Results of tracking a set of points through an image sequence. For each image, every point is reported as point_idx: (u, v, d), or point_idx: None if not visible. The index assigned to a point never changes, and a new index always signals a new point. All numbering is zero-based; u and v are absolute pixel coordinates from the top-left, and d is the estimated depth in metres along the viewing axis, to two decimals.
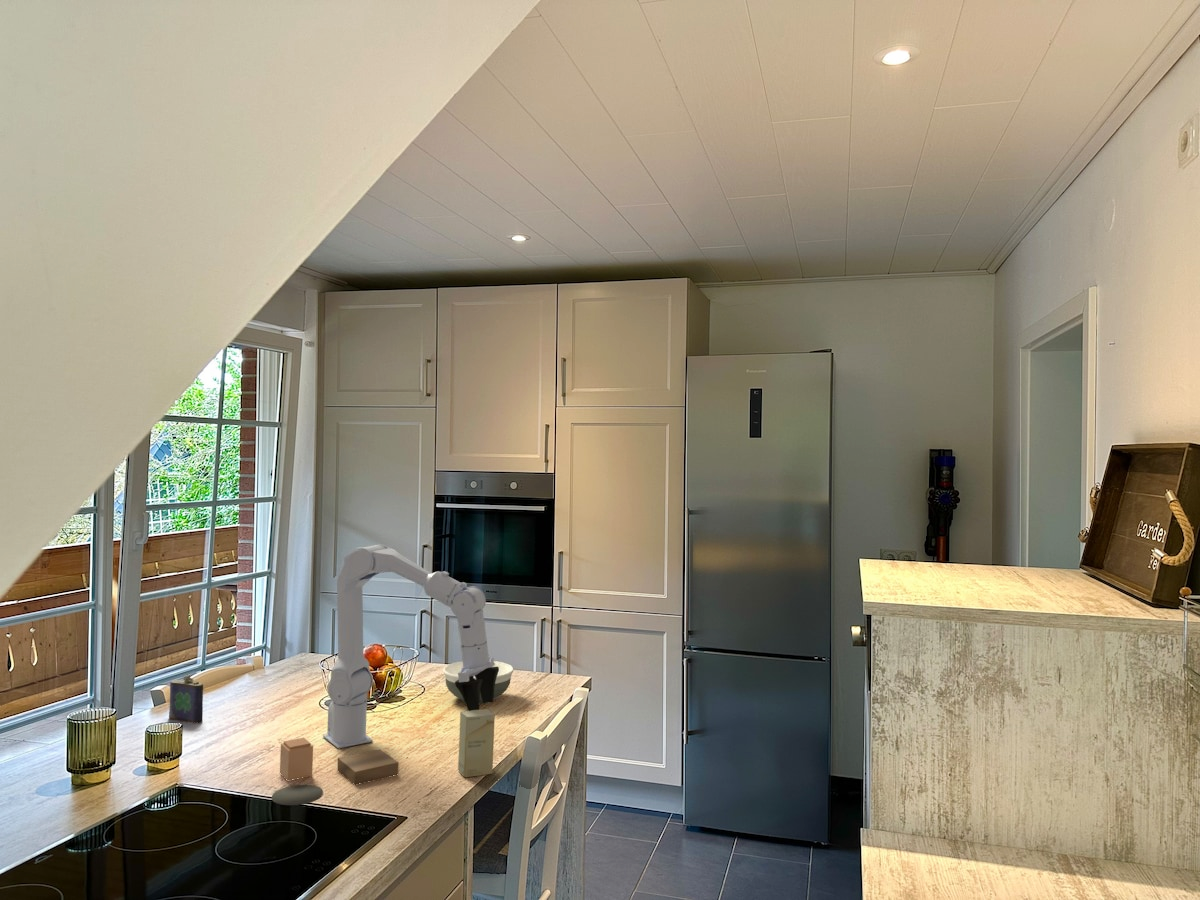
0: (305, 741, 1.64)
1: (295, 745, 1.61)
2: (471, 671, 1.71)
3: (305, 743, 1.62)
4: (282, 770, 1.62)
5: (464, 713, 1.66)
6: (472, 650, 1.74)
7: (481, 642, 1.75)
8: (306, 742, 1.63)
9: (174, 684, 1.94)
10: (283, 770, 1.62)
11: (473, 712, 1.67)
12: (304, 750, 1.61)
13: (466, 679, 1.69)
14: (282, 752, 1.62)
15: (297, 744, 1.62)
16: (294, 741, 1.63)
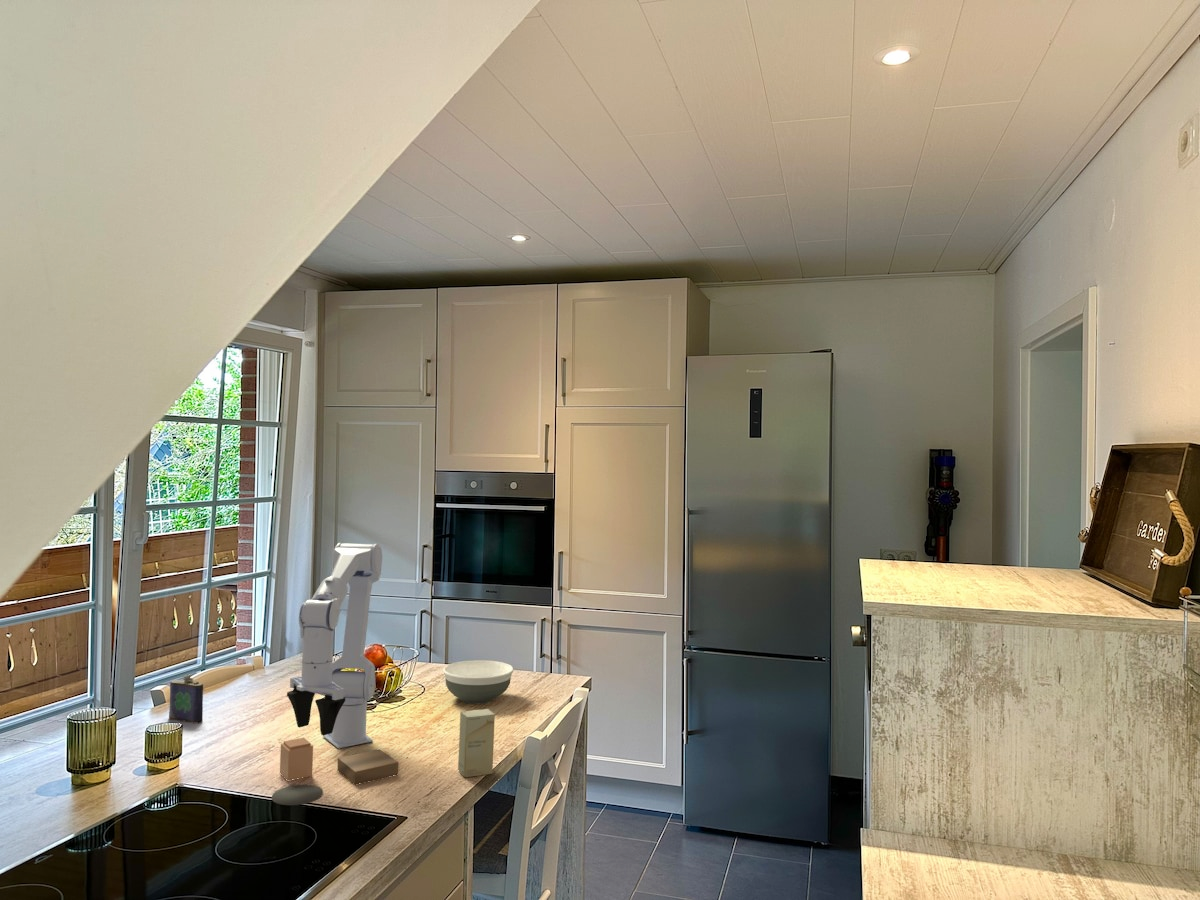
0: (305, 741, 1.64)
1: (295, 745, 1.61)
2: (294, 680, 1.64)
3: (305, 743, 1.62)
4: (282, 770, 1.62)
5: (464, 713, 1.66)
6: None
7: (305, 660, 1.59)
8: (306, 742, 1.63)
9: (174, 684, 1.94)
10: (283, 770, 1.62)
11: (473, 712, 1.67)
12: (304, 750, 1.61)
13: None
14: (282, 752, 1.62)
15: (297, 744, 1.62)
16: (294, 741, 1.63)
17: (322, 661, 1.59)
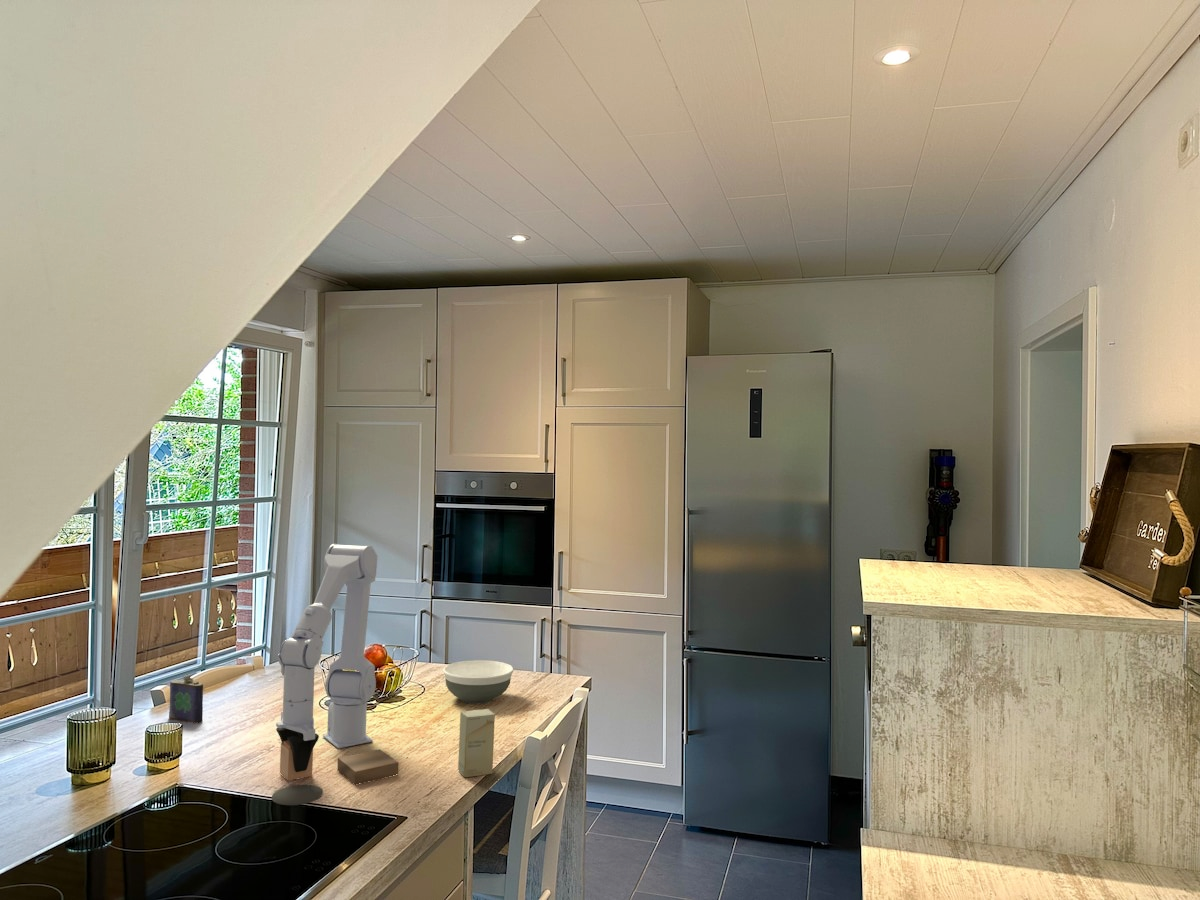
0: None
1: None
2: (282, 715, 1.67)
3: None
4: (282, 770, 1.62)
5: (464, 713, 1.66)
6: None
7: (284, 698, 1.61)
8: None
9: (174, 684, 1.94)
10: (283, 770, 1.62)
11: (473, 712, 1.67)
12: None
13: None
14: (282, 752, 1.62)
15: None
16: None
17: (300, 700, 1.61)
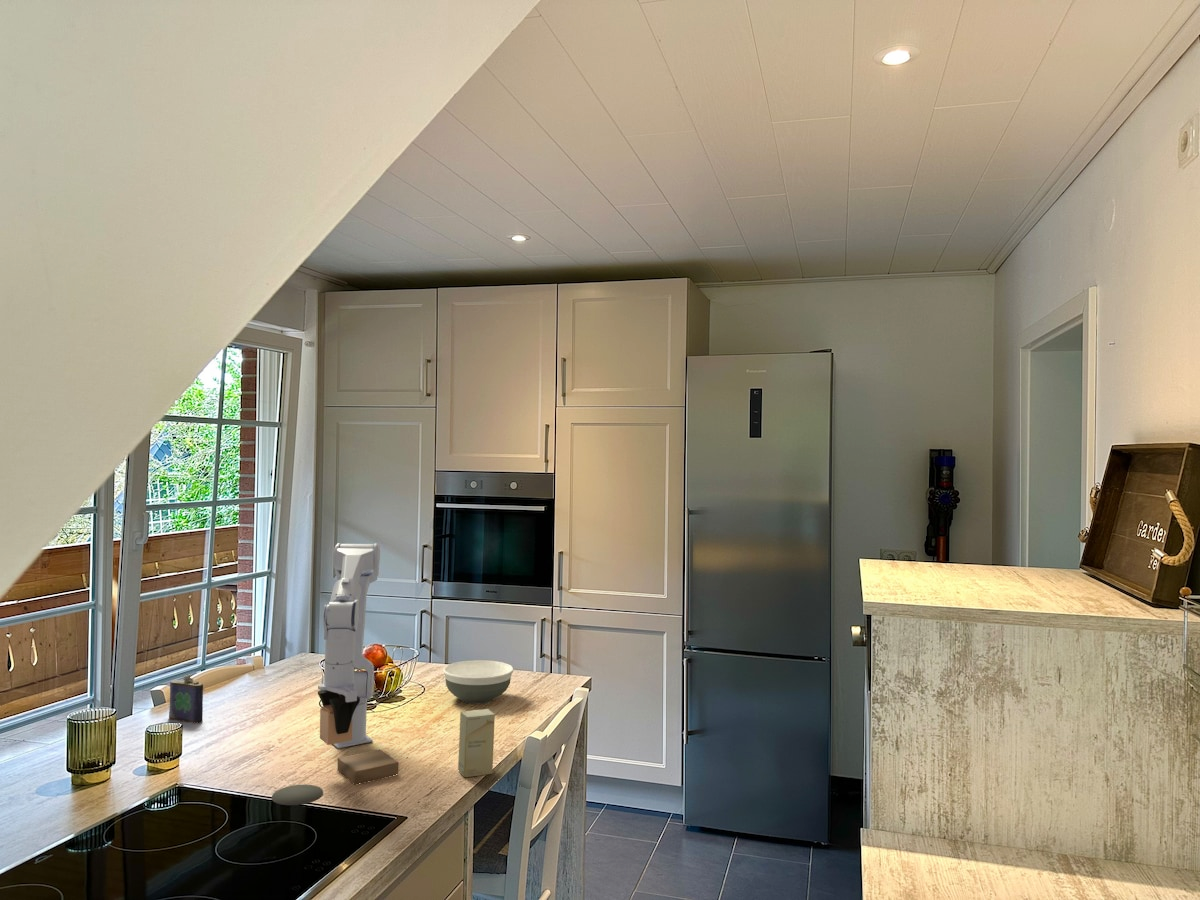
0: None
1: None
2: (323, 679, 1.68)
3: None
4: (322, 735, 1.63)
5: (464, 713, 1.66)
6: None
7: (330, 662, 1.62)
8: None
9: (174, 684, 1.94)
10: (323, 734, 1.63)
11: (473, 712, 1.67)
12: None
13: None
14: (322, 716, 1.63)
15: None
16: None
17: (347, 661, 1.62)
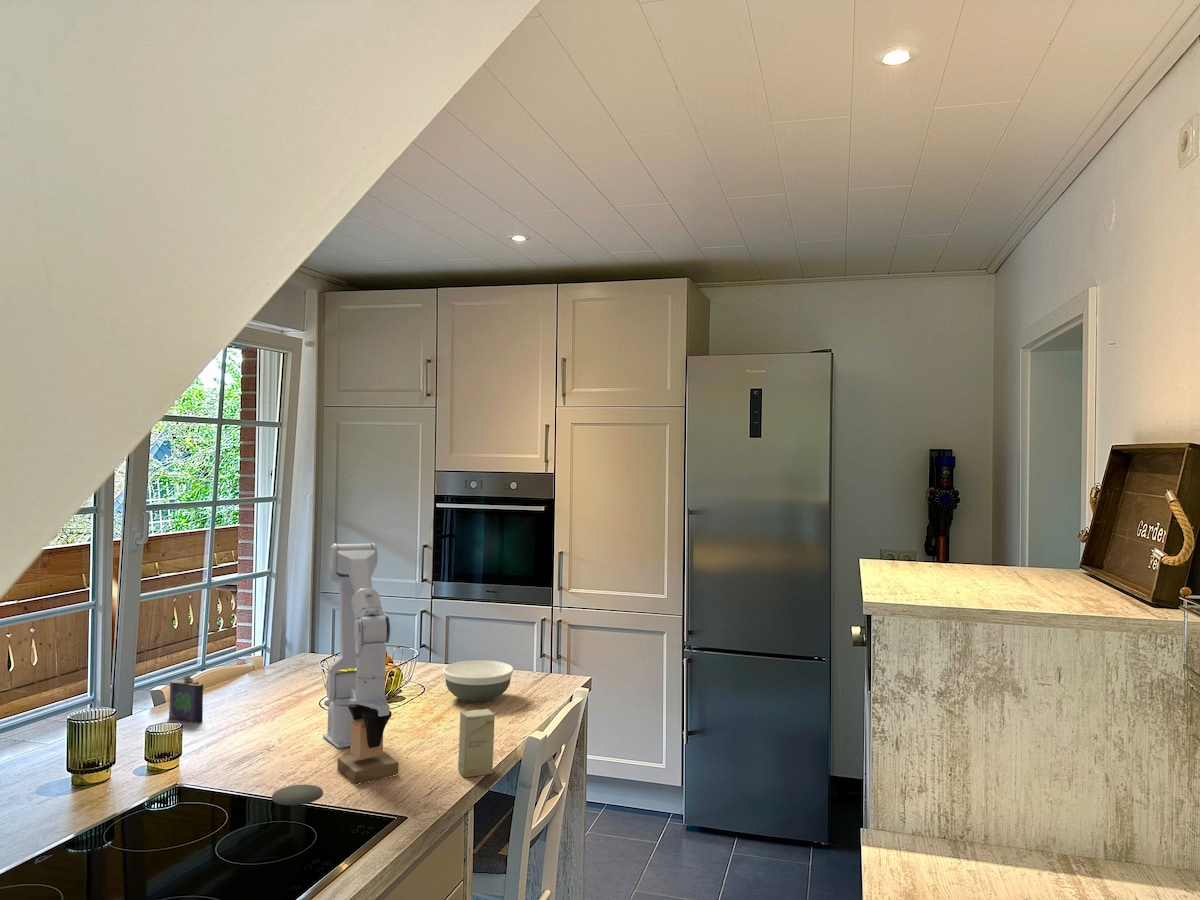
0: None
1: None
2: (353, 693, 1.69)
3: None
4: (353, 749, 1.64)
5: (464, 713, 1.66)
6: None
7: (366, 676, 1.62)
8: None
9: (174, 684, 1.94)
10: (354, 748, 1.63)
11: (473, 712, 1.67)
12: None
13: None
14: (353, 731, 1.64)
15: None
16: None
17: (382, 675, 1.64)
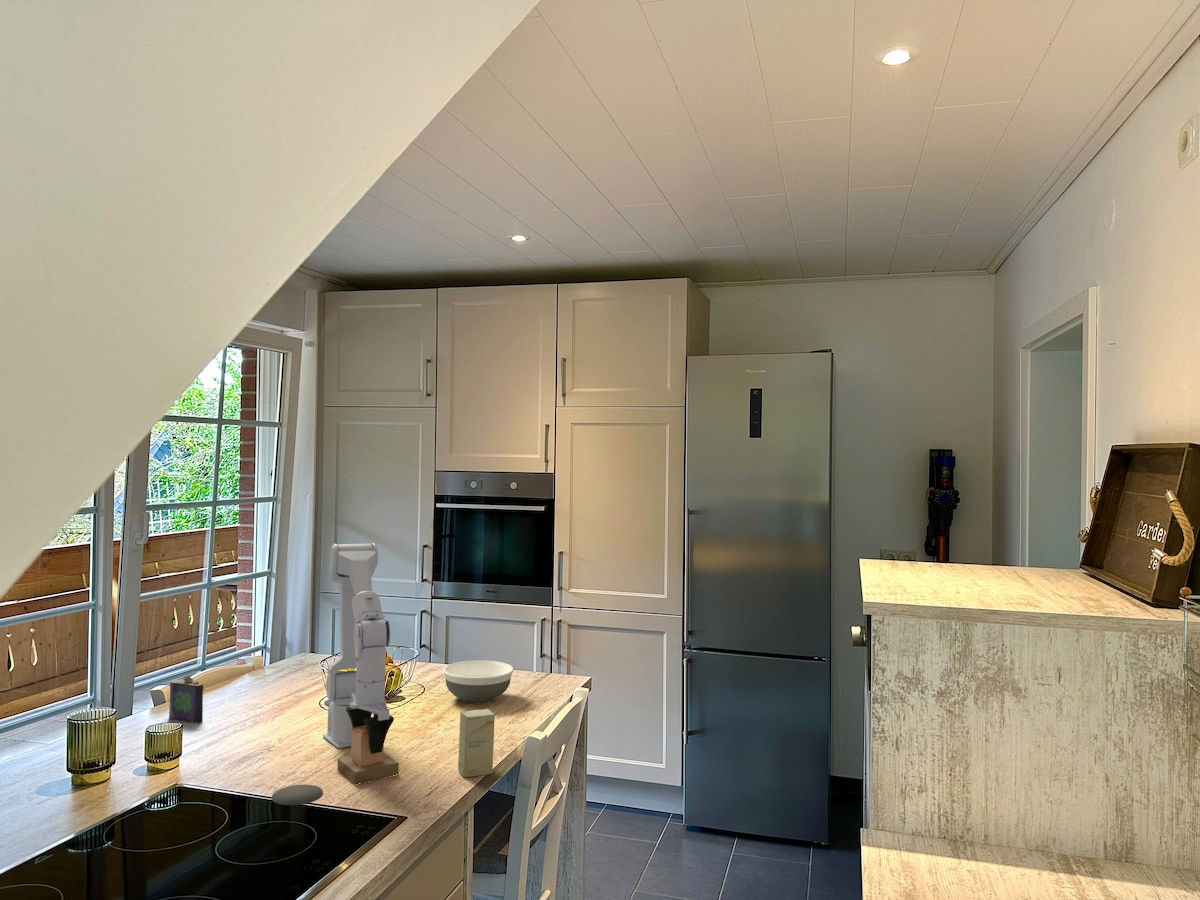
0: None
1: (366, 731, 1.63)
2: (353, 696, 1.69)
3: None
4: (354, 756, 1.64)
5: (464, 713, 1.66)
6: None
7: (365, 680, 1.62)
8: None
9: (174, 684, 1.94)
10: (355, 756, 1.64)
11: (473, 712, 1.67)
12: None
13: None
14: (353, 738, 1.64)
15: None
16: (364, 727, 1.65)
17: (382, 679, 1.64)
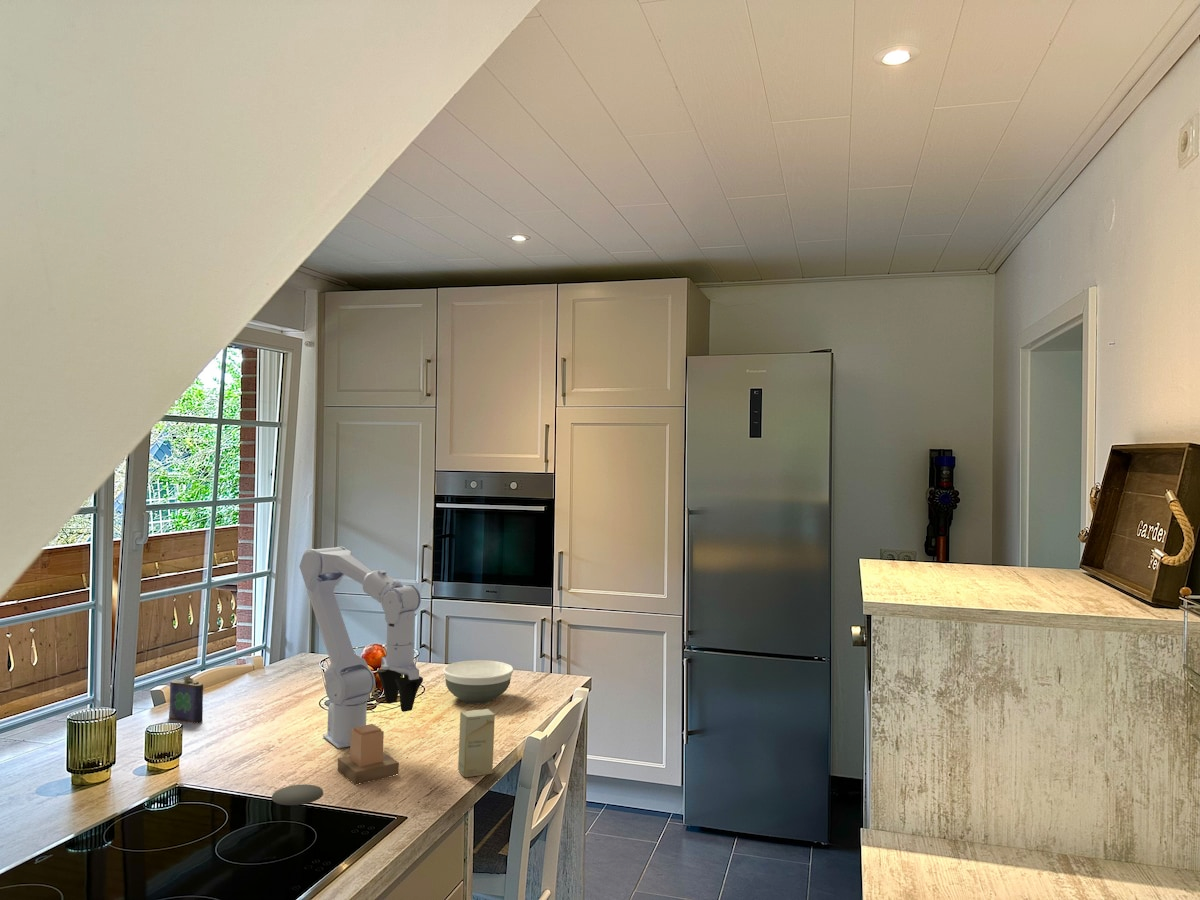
0: (375, 727, 1.66)
1: (366, 731, 1.63)
2: (383, 660, 1.79)
3: (376, 729, 1.65)
4: (353, 756, 1.64)
5: (464, 713, 1.66)
6: None
7: (403, 643, 1.73)
8: (376, 728, 1.65)
9: (174, 684, 1.94)
10: (354, 756, 1.63)
11: (473, 712, 1.67)
12: (375, 736, 1.64)
13: None
14: (353, 738, 1.64)
15: (368, 730, 1.64)
16: (364, 727, 1.65)
17: None
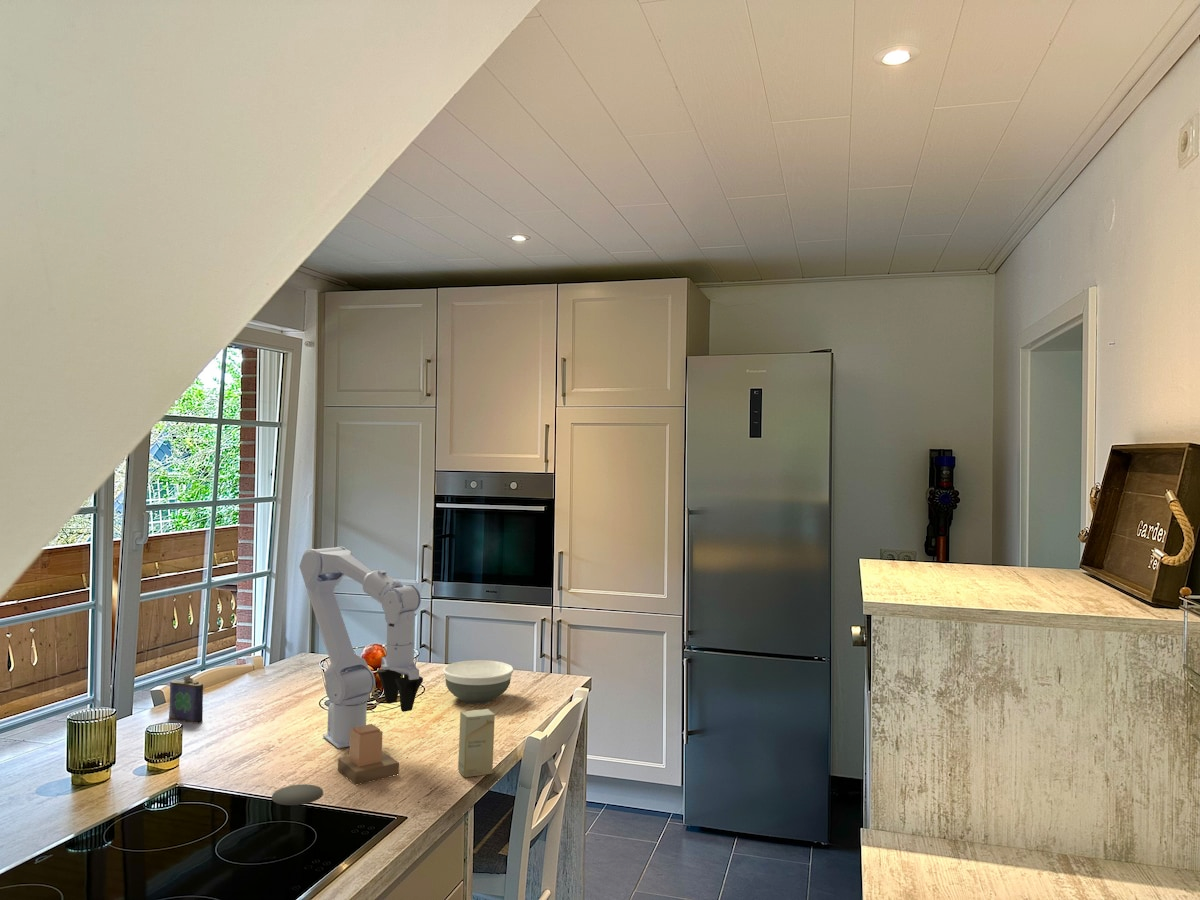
0: (374, 727, 1.66)
1: (365, 731, 1.63)
2: (383, 660, 1.79)
3: (374, 729, 1.64)
4: (352, 756, 1.64)
5: (464, 713, 1.66)
6: None
7: (403, 643, 1.73)
8: (375, 728, 1.65)
9: (174, 684, 1.94)
10: (353, 756, 1.64)
11: (473, 712, 1.67)
12: (374, 736, 1.63)
13: None
14: (352, 738, 1.64)
15: (367, 730, 1.64)
16: (363, 727, 1.65)
17: None
